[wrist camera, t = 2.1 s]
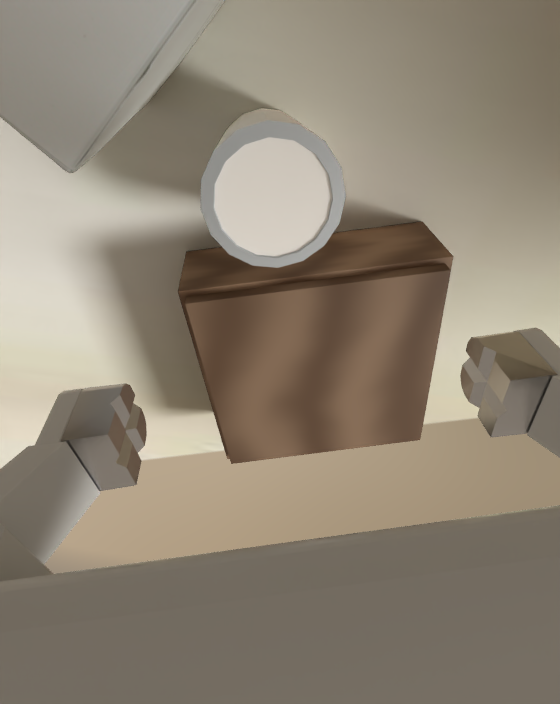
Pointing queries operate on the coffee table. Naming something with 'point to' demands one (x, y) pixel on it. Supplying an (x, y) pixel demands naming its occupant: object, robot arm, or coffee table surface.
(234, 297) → the walnut box
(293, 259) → the white cylinder
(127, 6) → the supplement box
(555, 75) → the coffee table surface
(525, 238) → the coffee table surface
